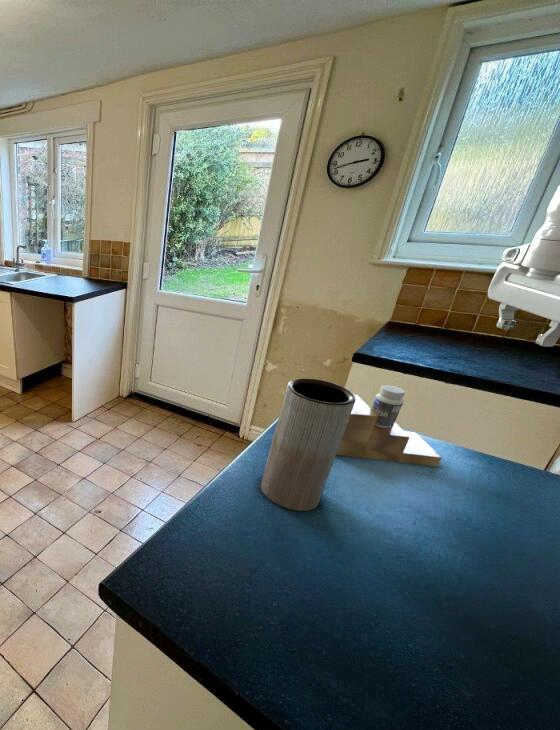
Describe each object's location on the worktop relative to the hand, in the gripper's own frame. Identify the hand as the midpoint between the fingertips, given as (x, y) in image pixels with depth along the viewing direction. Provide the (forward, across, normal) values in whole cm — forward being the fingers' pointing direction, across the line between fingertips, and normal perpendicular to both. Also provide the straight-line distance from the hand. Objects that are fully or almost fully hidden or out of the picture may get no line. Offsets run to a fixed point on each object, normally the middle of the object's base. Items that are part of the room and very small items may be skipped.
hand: (522, 336), depth 75 cm
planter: (+29, -18, +37) cm, 50 cm away
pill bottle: (+22, +3, +15) cm, 27 cm away
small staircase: (+29, +3, +15) cm, 33 cm away
